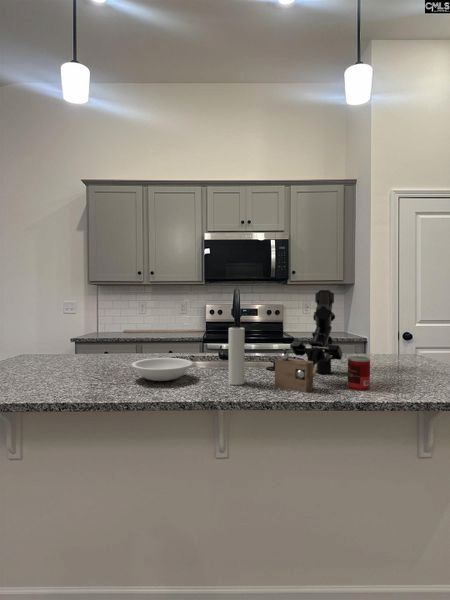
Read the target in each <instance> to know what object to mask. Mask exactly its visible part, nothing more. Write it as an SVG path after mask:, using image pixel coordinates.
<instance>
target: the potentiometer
mask: <svg viewBox="0 0 450 600" xmlns="http://www.w3.org/2000/svg"><path fill="white" fill-rule="evenodd" d="M289 356H290V355H289V353H288V352H287V348H283V352H281V355H280V357H281V360H282V361H288V360H289V359H290V357H289Z"/></svg>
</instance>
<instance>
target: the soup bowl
mask: <svg viewBox="0 0 450 600" xmlns="http://www.w3.org/2000/svg"><path fill="white" fill-rule="evenodd" d="M192 365H194V363H193V361H192V360H189V359H186V358H177V357H155V358H154V357H153V358H146V359H140V360H137V361H134V362H132V363H131V367H132V368H134V369H136V372H137V373H138V375H140V376H141V377H142V378H144V379H146V380H149V381H156V382H157V381H158V382H163V381H164V382H165V381H167V382H168V381H172V380H175V379H179V378H181V377H182V376H184V374H185V373H187V371H188V370H189V368H190V367H192Z"/></svg>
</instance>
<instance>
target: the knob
mask: <svg viewBox="0 0 450 600" xmlns="http://www.w3.org/2000/svg"><path fill="white" fill-rule="evenodd" d="M316 374H317V373H316V366H315V365H314V366H313V378H315V377H316ZM296 376H297V377H298V378H300V379H301V378H304V377H305V370H299V371H297V373H296Z"/></svg>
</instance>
